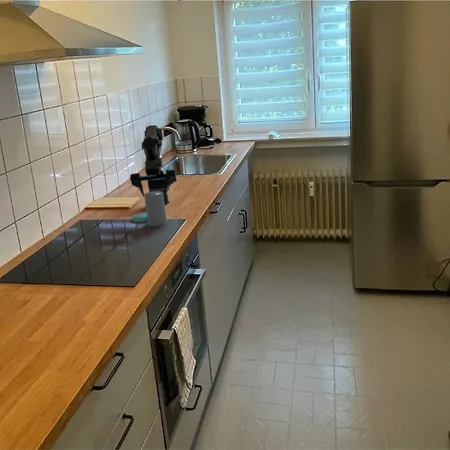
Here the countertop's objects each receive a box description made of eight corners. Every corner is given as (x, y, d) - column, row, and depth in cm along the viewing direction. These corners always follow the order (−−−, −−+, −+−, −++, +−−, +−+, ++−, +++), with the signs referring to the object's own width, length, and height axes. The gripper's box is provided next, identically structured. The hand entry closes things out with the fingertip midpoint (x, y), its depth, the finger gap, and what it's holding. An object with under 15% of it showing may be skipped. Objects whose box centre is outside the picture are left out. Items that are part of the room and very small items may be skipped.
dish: (126, 221, 214) (126, 218, 213) (141, 213, 223) (141, 211, 222) (148, 223, 209) (147, 220, 208) (162, 215, 218) (162, 212, 217)
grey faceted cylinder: (144, 225, 206) (140, 195, 202) (155, 219, 212) (151, 190, 209) (160, 226, 203) (156, 196, 199) (170, 220, 209) (166, 191, 205)
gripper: (127, 154, 208) (128, 187, 201) (172, 150, 209) (175, 182, 201) (131, 169, 218) (132, 201, 211) (175, 165, 218) (178, 196, 211)
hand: (154, 195), depth 208 cm, fingers open, 9 cm apart
